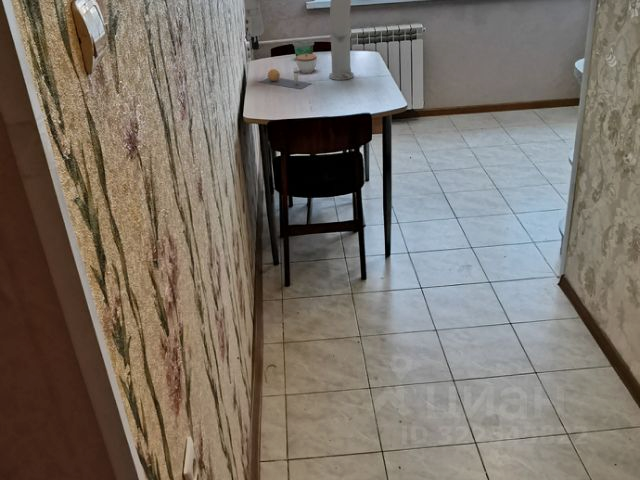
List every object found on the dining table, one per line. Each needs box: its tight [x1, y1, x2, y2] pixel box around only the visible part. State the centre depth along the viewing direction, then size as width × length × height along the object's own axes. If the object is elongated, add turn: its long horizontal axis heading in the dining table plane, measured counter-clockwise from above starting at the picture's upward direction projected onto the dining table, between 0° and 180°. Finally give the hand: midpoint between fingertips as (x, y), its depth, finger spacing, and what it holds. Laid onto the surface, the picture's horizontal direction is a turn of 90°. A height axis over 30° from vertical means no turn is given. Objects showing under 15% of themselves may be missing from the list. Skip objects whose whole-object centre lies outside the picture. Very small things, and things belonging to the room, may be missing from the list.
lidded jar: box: [295, 53, 318, 74], centre depth 349 cm, size 11×11×9 cm
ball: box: [267, 68, 281, 81], centre depth 336 cm, size 6×6×6 cm
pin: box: [293, 66, 299, 85], centre depth 329 cm, size 2×2×8 cm
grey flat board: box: [259, 77, 313, 90], centre depth 334 cm, size 26×10×1 cm, turn 56°
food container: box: [292, 40, 315, 58], centre depth 368 cm, size 12×6×10 cm, turn 73°
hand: (255, 49), depth 335 cm, fingers closed
